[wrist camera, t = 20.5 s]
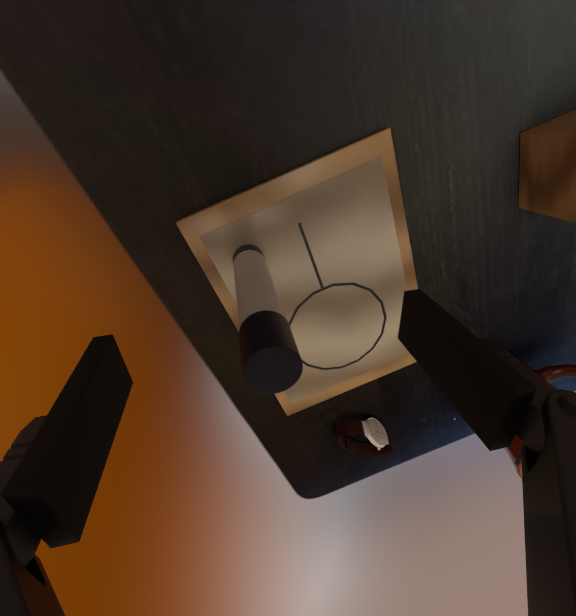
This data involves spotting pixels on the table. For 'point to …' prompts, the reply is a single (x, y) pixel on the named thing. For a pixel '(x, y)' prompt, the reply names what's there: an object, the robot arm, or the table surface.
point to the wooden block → (549, 168)
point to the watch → (368, 428)
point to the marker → (263, 326)
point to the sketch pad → (322, 262)
